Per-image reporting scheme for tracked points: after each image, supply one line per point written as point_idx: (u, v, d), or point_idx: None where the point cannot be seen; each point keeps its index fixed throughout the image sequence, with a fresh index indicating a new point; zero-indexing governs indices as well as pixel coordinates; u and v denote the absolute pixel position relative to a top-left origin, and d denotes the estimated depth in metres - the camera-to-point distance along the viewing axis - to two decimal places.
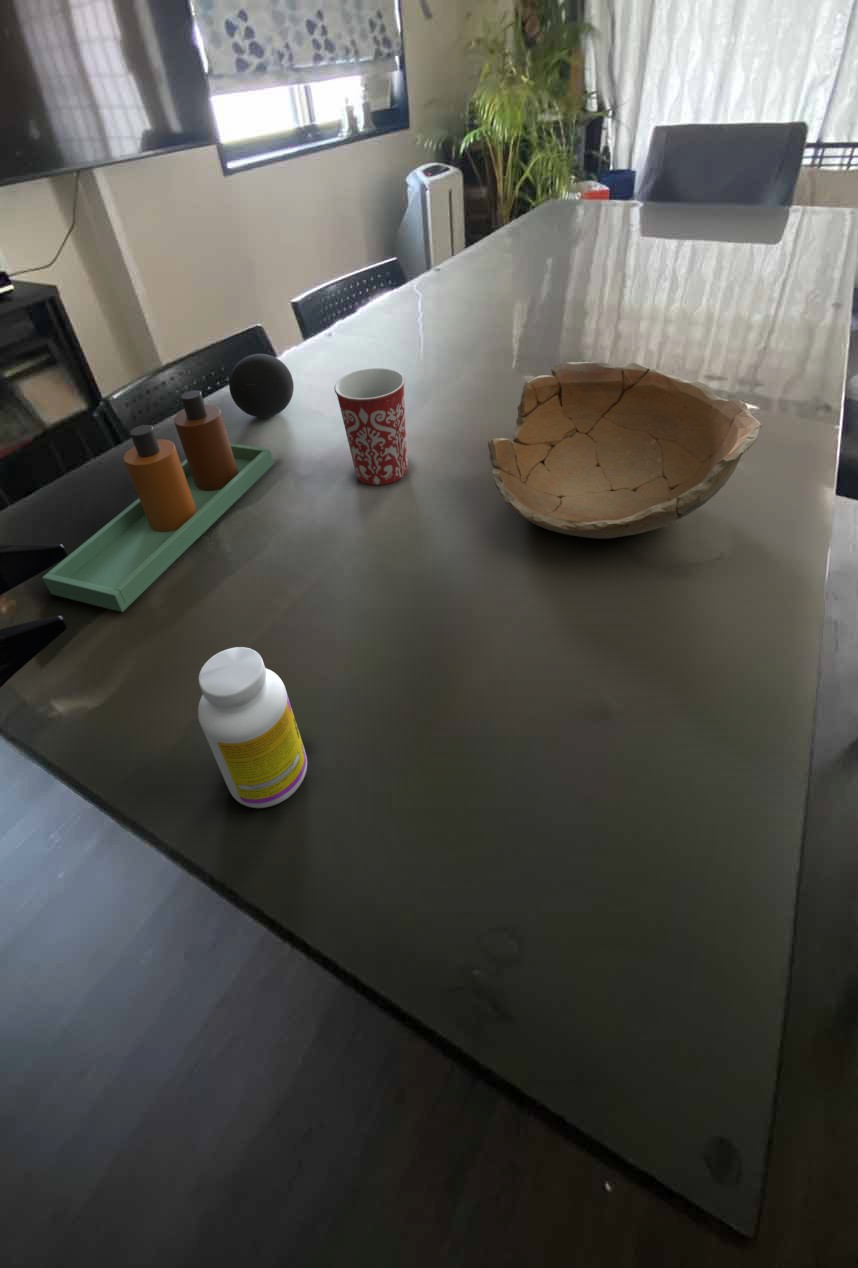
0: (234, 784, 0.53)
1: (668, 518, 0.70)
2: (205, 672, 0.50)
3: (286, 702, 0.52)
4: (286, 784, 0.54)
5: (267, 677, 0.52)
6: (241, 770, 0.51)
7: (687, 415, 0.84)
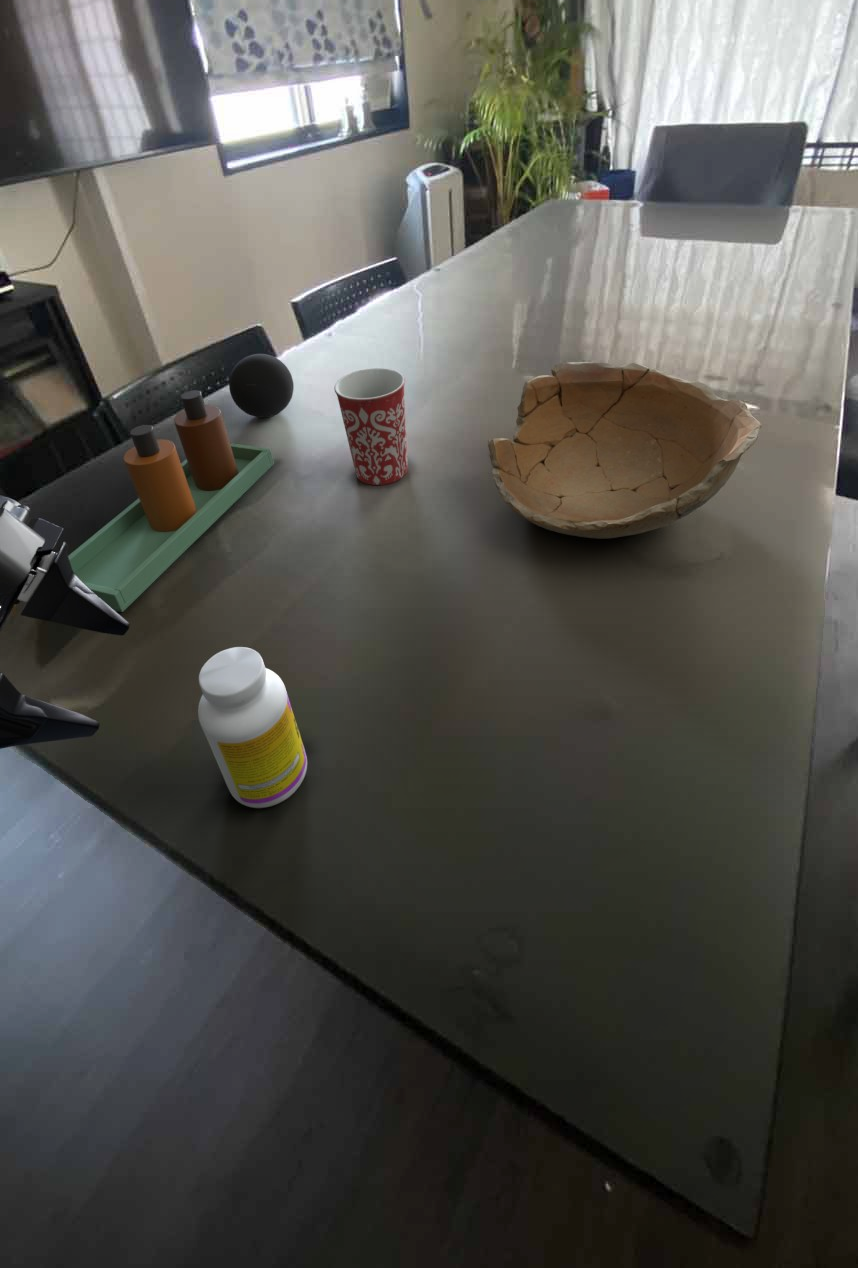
0: (234, 784, 0.53)
1: (668, 518, 0.70)
2: (205, 672, 0.50)
3: (286, 702, 0.52)
4: (286, 784, 0.54)
5: (267, 677, 0.52)
6: (241, 770, 0.51)
7: (687, 415, 0.84)
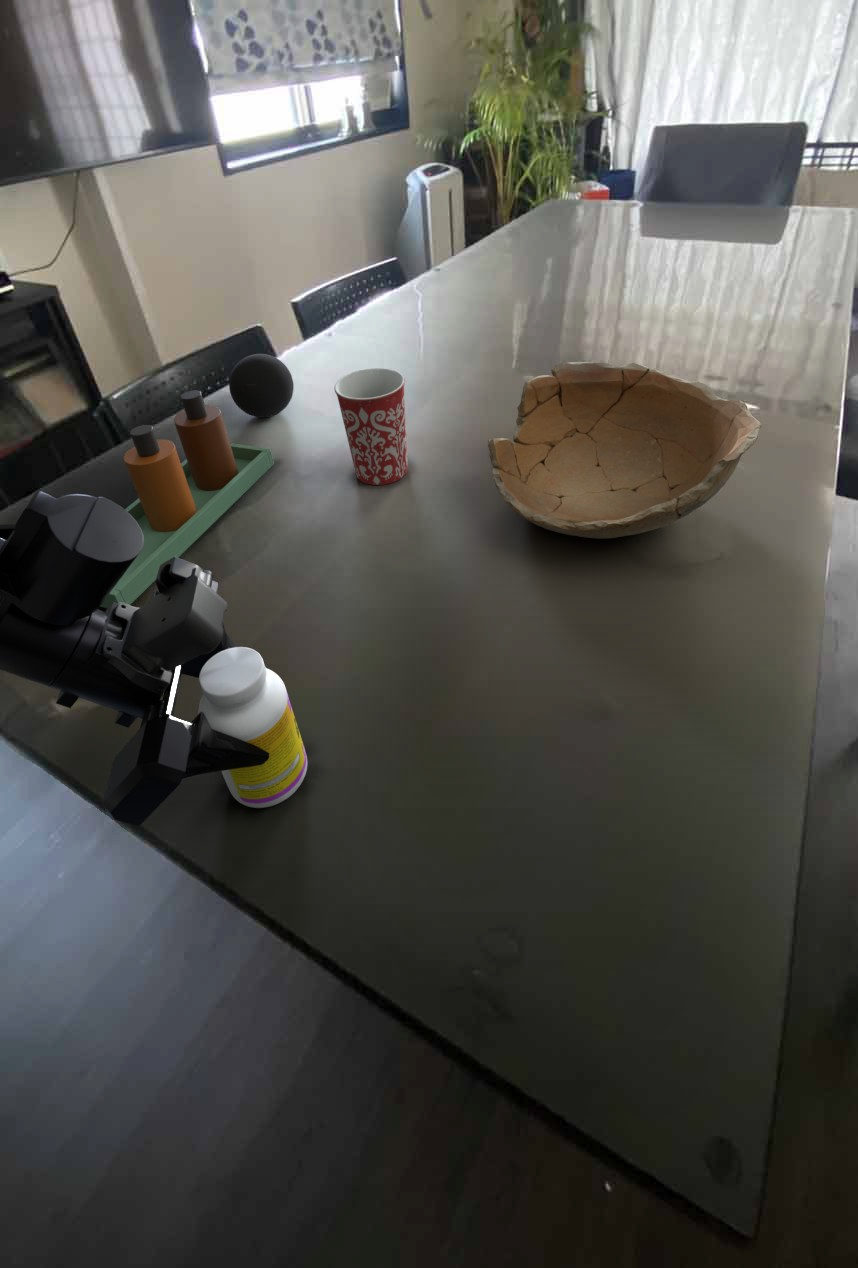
0: (234, 784, 0.53)
1: (668, 518, 0.70)
2: (205, 672, 0.50)
3: (286, 702, 0.52)
4: (286, 784, 0.54)
5: (267, 677, 0.52)
6: (241, 770, 0.51)
7: (687, 415, 0.84)
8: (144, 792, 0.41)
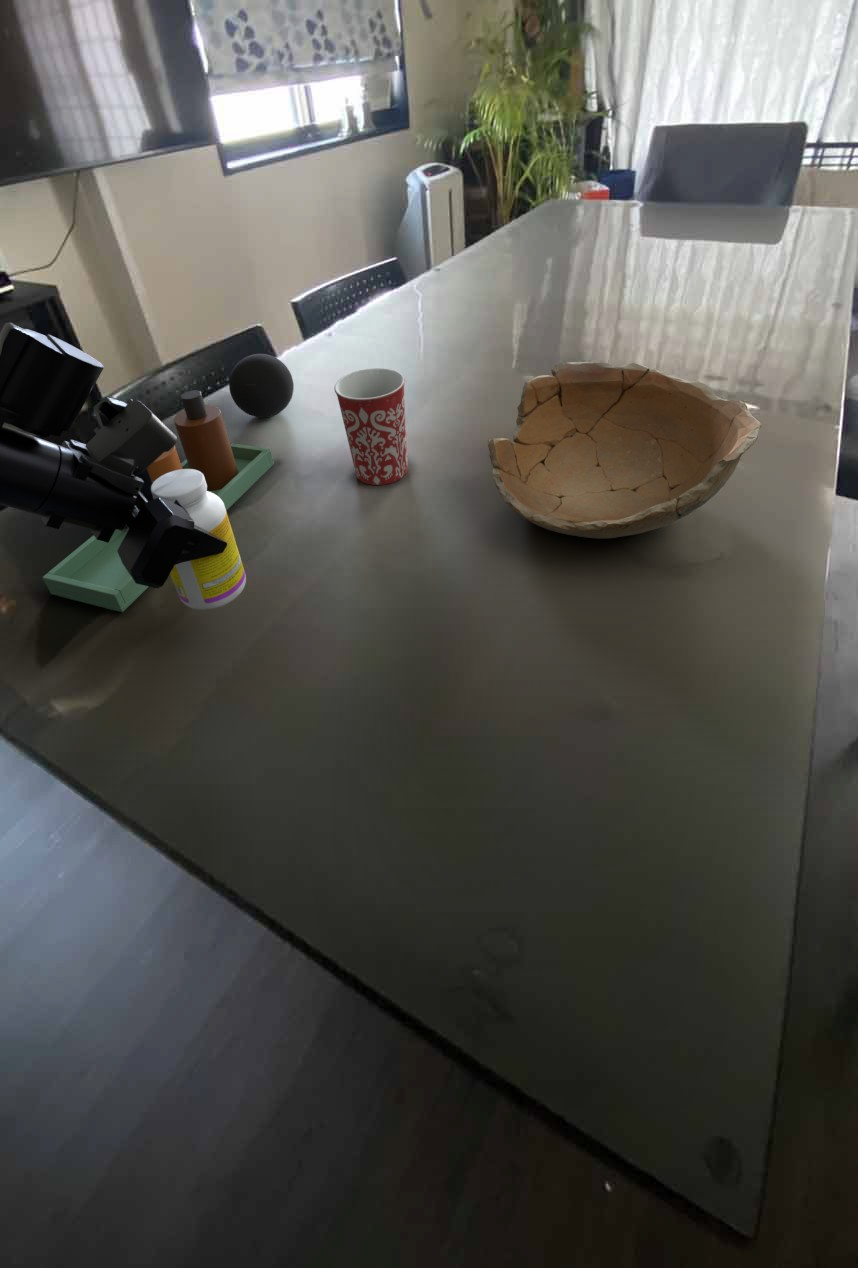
0: (199, 586, 0.63)
1: (668, 518, 0.70)
2: (156, 489, 0.60)
3: None
4: (238, 578, 0.66)
5: None
6: (205, 565, 0.62)
7: (687, 415, 0.84)
8: (167, 544, 0.52)
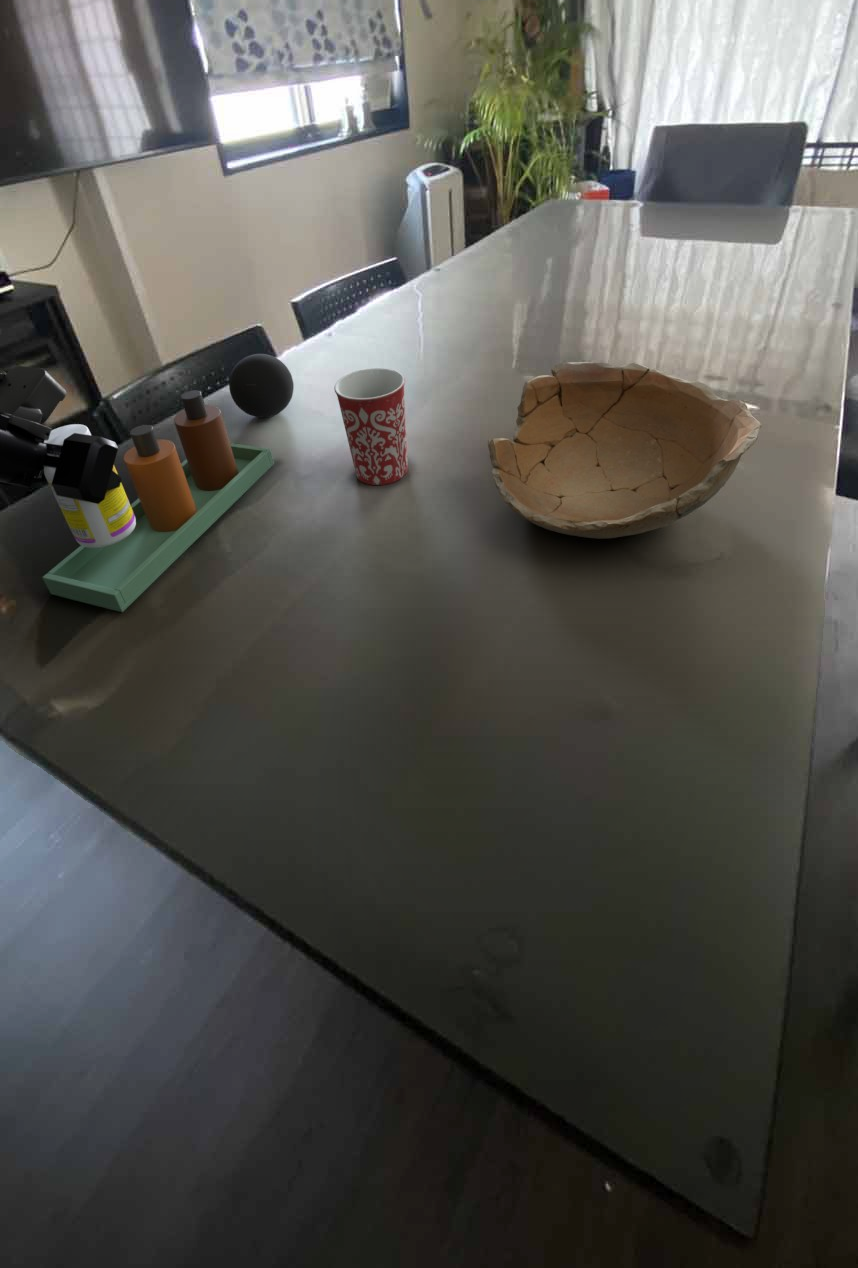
0: (104, 522, 0.74)
1: (668, 518, 0.70)
2: (49, 442, 0.69)
3: None
4: (131, 511, 0.77)
5: None
6: (108, 500, 0.73)
7: (687, 415, 0.84)
8: (102, 461, 0.64)
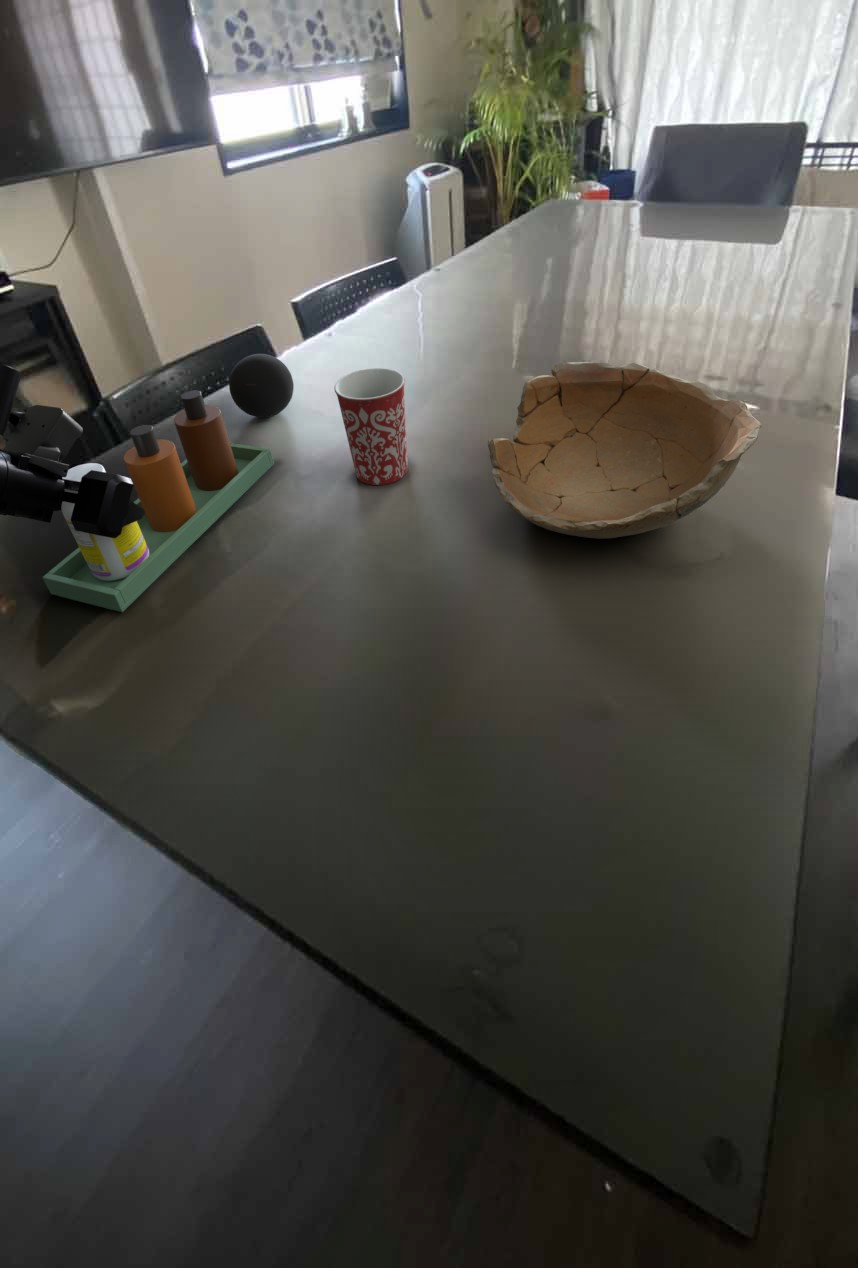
0: (120, 556, 0.77)
1: (668, 518, 0.70)
2: None
3: None
4: (145, 544, 0.80)
5: None
6: (123, 536, 0.76)
7: (687, 415, 0.84)
8: (119, 498, 0.67)
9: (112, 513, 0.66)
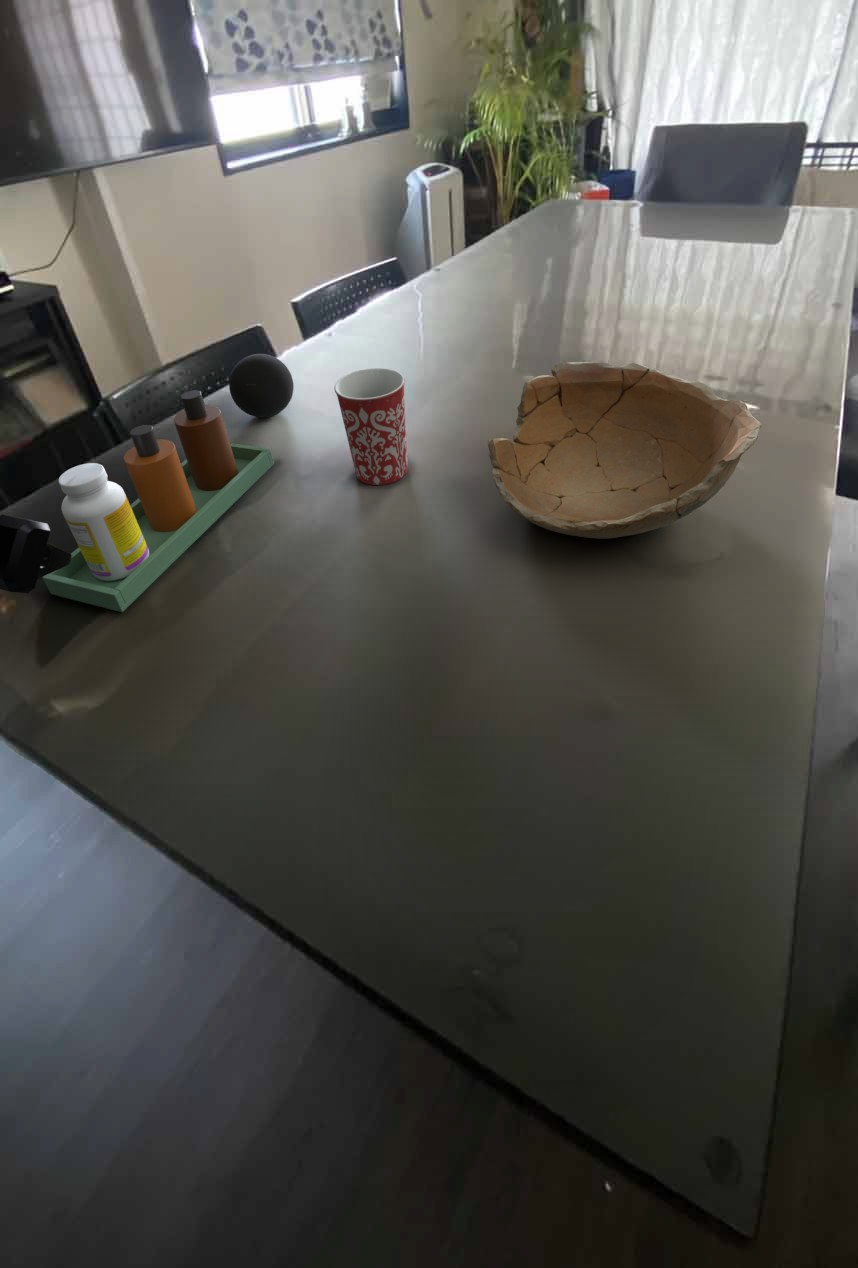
0: (120, 556, 0.77)
1: (668, 518, 0.70)
2: (66, 483, 0.72)
3: None
4: (145, 544, 0.80)
5: None
6: (123, 535, 0.76)
7: (687, 415, 0.84)
8: (31, 547, 0.58)
9: (23, 565, 0.57)
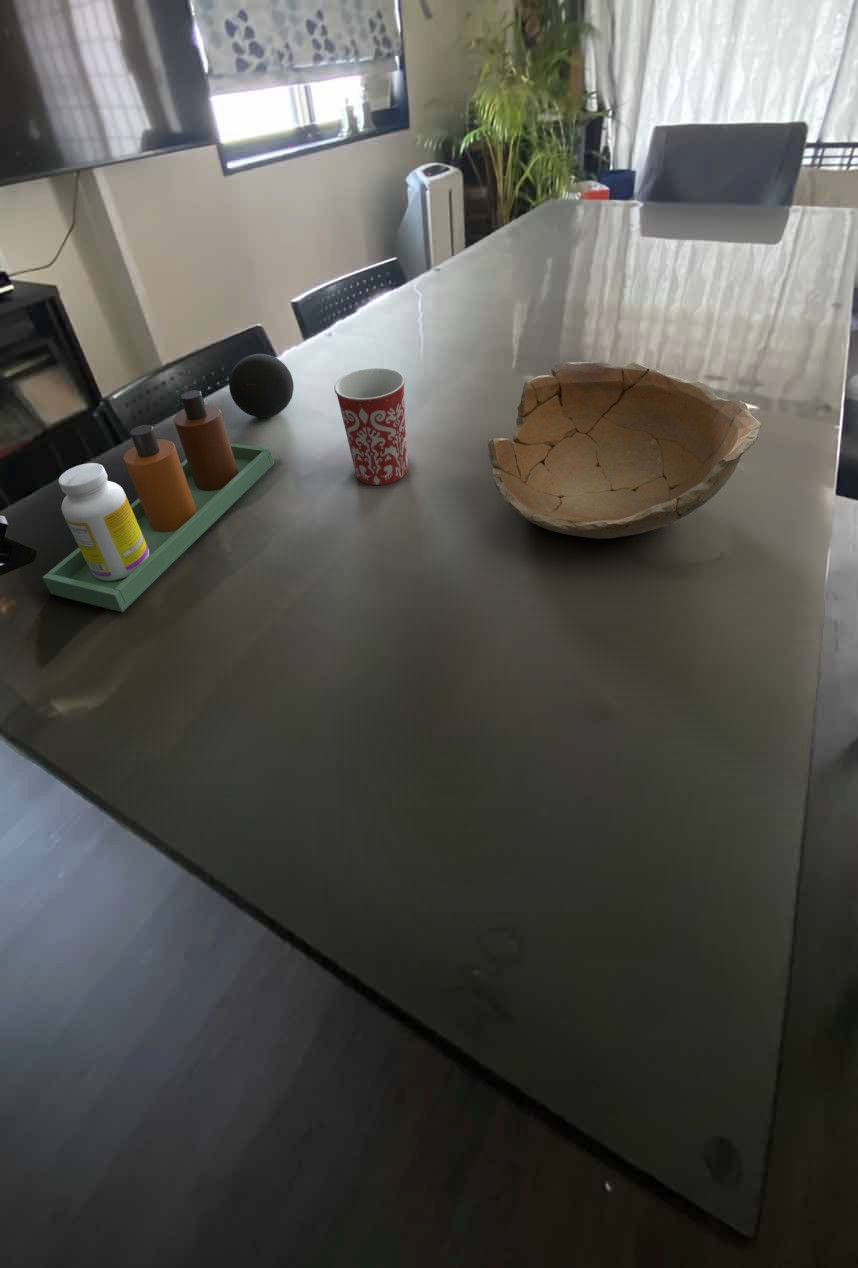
0: (120, 556, 0.77)
1: (668, 518, 0.70)
2: (66, 482, 0.72)
3: None
4: (145, 544, 0.80)
5: None
6: (123, 535, 0.76)
7: (687, 415, 0.84)
8: None
9: None
